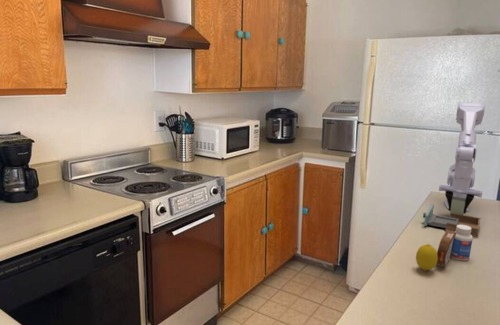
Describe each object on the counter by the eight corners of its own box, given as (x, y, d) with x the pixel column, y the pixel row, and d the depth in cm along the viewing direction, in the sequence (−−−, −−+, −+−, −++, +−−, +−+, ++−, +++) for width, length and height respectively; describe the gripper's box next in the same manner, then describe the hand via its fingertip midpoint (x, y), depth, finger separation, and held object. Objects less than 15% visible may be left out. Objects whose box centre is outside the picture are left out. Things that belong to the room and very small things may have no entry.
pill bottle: (459, 262, 116) (464, 231, 114) (445, 254, 121) (449, 224, 119) (473, 259, 118) (478, 229, 116) (459, 251, 123) (463, 222, 121)
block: (450, 213, 155) (453, 196, 154) (463, 215, 153) (465, 198, 151) (449, 216, 152) (452, 199, 150) (462, 219, 149) (464, 201, 148)
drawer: (427, 213, 155) (428, 203, 154) (459, 219, 149) (460, 209, 148) (420, 224, 143) (421, 214, 142) (455, 232, 137) (456, 221, 136)
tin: (443, 250, 124) (447, 225, 122) (454, 252, 122) (458, 227, 120) (433, 268, 112) (436, 241, 110) (445, 272, 110) (449, 244, 108)
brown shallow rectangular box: (449, 220, 150) (450, 212, 150) (479, 226, 145) (480, 218, 144) (444, 231, 140) (446, 223, 139) (477, 237, 134) (478, 229, 134)
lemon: (411, 270, 111) (414, 244, 109) (419, 264, 115) (422, 238, 113) (431, 277, 107) (434, 250, 106) (438, 270, 111) (442, 244, 109)
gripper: (439, 176, 149) (435, 210, 152) (483, 183, 142) (478, 218, 145) (442, 172, 155) (437, 205, 158) (484, 178, 148) (479, 213, 151)
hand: (457, 211), depth 152 cm, fingers closed on block, 4 cm apart
